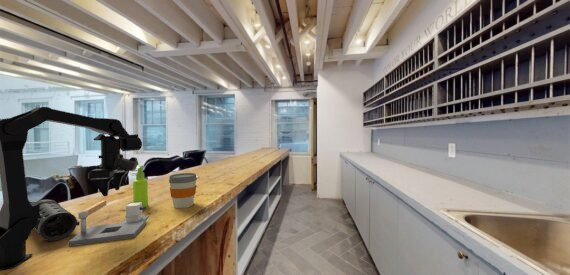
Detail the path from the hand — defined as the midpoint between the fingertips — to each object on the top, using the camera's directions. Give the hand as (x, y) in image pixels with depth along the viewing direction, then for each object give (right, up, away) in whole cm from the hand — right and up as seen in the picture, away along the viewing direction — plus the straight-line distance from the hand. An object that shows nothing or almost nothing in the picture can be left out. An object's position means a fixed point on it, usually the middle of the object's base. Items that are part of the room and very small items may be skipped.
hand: (111, 193), depth 83 cm
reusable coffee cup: (+16, -13, +25) cm, 33 cm away
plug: (+5, -13, +6) cm, 14 cm away
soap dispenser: (-5, -13, +24) cm, 27 cm away
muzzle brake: (-18, -10, +3) cm, 21 cm away
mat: (+5, -13, +6) cm, 15 cm away
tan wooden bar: (-5, -6, -2) cm, 8 cm away
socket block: (+4, -13, -6) cm, 15 cm away
